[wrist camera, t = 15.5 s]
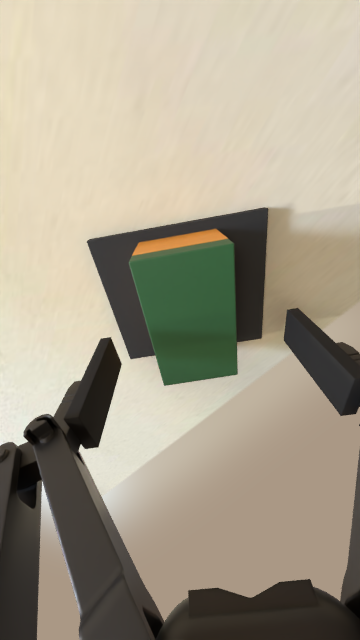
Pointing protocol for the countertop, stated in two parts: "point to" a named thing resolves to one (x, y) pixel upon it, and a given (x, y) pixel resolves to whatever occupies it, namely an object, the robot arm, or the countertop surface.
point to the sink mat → (119, 248)
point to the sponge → (189, 304)
